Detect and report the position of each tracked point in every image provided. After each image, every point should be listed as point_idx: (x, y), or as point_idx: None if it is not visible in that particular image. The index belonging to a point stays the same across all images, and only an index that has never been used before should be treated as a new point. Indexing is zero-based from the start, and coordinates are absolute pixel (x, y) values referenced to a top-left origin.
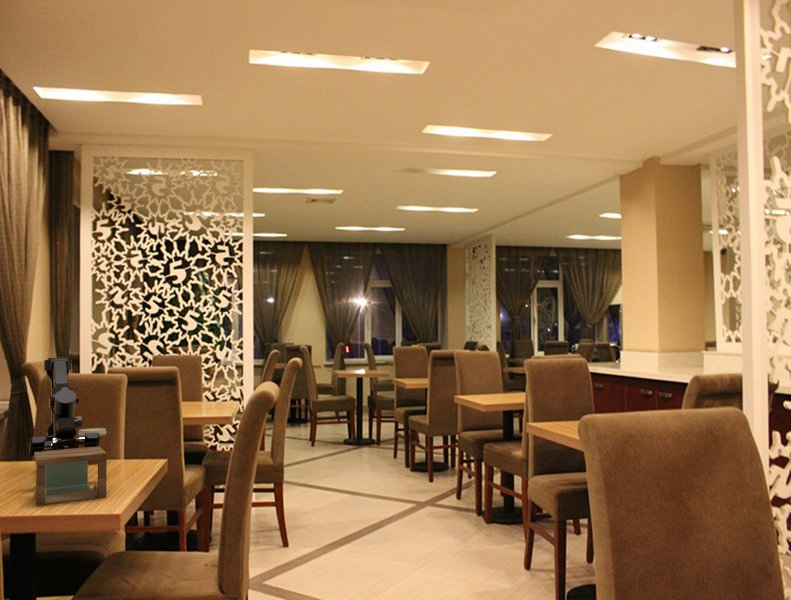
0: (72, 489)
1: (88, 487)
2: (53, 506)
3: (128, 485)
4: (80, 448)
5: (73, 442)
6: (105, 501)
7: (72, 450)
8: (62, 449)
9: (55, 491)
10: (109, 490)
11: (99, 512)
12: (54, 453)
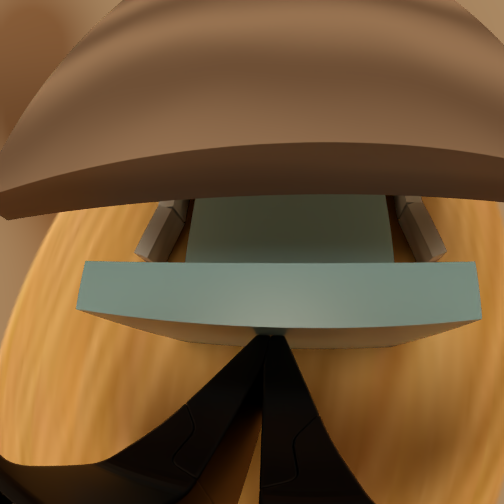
0: (272, 196)
1: (201, 202)
2: None
3: (66, 262)
4: (100, 126)
5: (35, 487)
6: None
7: (217, 41)
8: (290, 499)
9: (348, 197)
10: (137, 207)
11: None
12: (376, 3)
